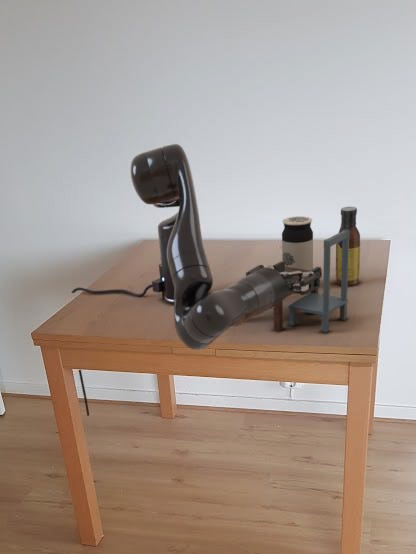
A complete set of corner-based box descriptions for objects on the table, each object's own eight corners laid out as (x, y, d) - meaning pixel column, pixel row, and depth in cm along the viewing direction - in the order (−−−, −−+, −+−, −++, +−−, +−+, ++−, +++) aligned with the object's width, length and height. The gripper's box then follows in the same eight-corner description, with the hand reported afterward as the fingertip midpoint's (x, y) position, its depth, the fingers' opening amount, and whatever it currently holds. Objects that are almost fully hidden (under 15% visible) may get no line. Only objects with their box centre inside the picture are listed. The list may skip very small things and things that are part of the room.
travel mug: (302, 280, 187) (302, 214, 178) (318, 288, 181) (319, 220, 172) (277, 286, 185) (275, 219, 176) (292, 294, 178) (292, 225, 169)
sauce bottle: (343, 277, 187) (345, 203, 177) (363, 281, 184) (366, 205, 174) (330, 284, 183) (332, 209, 173) (351, 288, 179) (354, 211, 169)
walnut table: (234, 321, 165) (232, 286, 160) (274, 298, 177) (273, 264, 172) (279, 331, 158) (278, 294, 153) (318, 306, 170) (318, 271, 165)
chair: (288, 324, 160) (287, 236, 150) (310, 311, 167) (310, 225, 156) (326, 332, 155) (328, 241, 144) (347, 318, 161) (350, 229, 151)
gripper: (289, 279, 123) (332, 254, 134) (225, 268, 131) (271, 246, 141) (289, 318, 127) (331, 291, 137) (227, 305, 135) (272, 281, 145)
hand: (301, 268), depth 139 cm, fingers open, 8 cm apart
